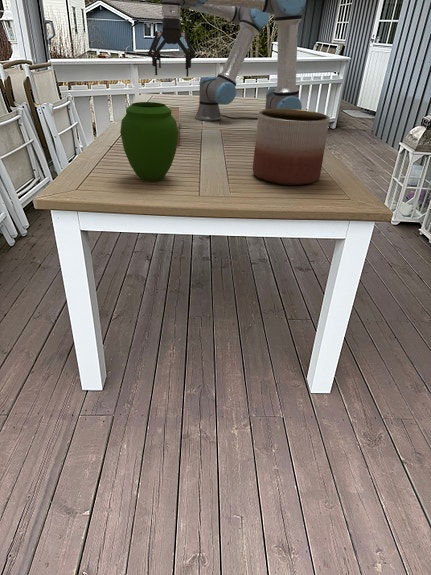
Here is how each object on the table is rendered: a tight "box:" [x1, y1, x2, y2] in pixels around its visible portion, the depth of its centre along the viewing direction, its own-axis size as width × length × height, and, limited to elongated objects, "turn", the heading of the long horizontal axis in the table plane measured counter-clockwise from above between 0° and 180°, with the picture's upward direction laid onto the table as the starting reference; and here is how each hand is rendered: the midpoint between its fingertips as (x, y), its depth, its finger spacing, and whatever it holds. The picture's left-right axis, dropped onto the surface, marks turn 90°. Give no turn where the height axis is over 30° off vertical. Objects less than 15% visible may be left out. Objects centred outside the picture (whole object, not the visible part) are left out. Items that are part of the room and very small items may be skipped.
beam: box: [168, 106, 180, 148], centre depth 209 cm, size 54×6×9 cm, turn 4°
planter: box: [252, 109, 331, 186], centre depth 150 cm, size 25×25×22 cm
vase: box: [119, 101, 180, 182], centre depth 140 cm, size 20×20×24 cm
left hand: (173, 68), depth 212 cm, fingers open, 13 cm apart
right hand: (171, 75), depth 180 cm, fingers open, 13 cm apart
